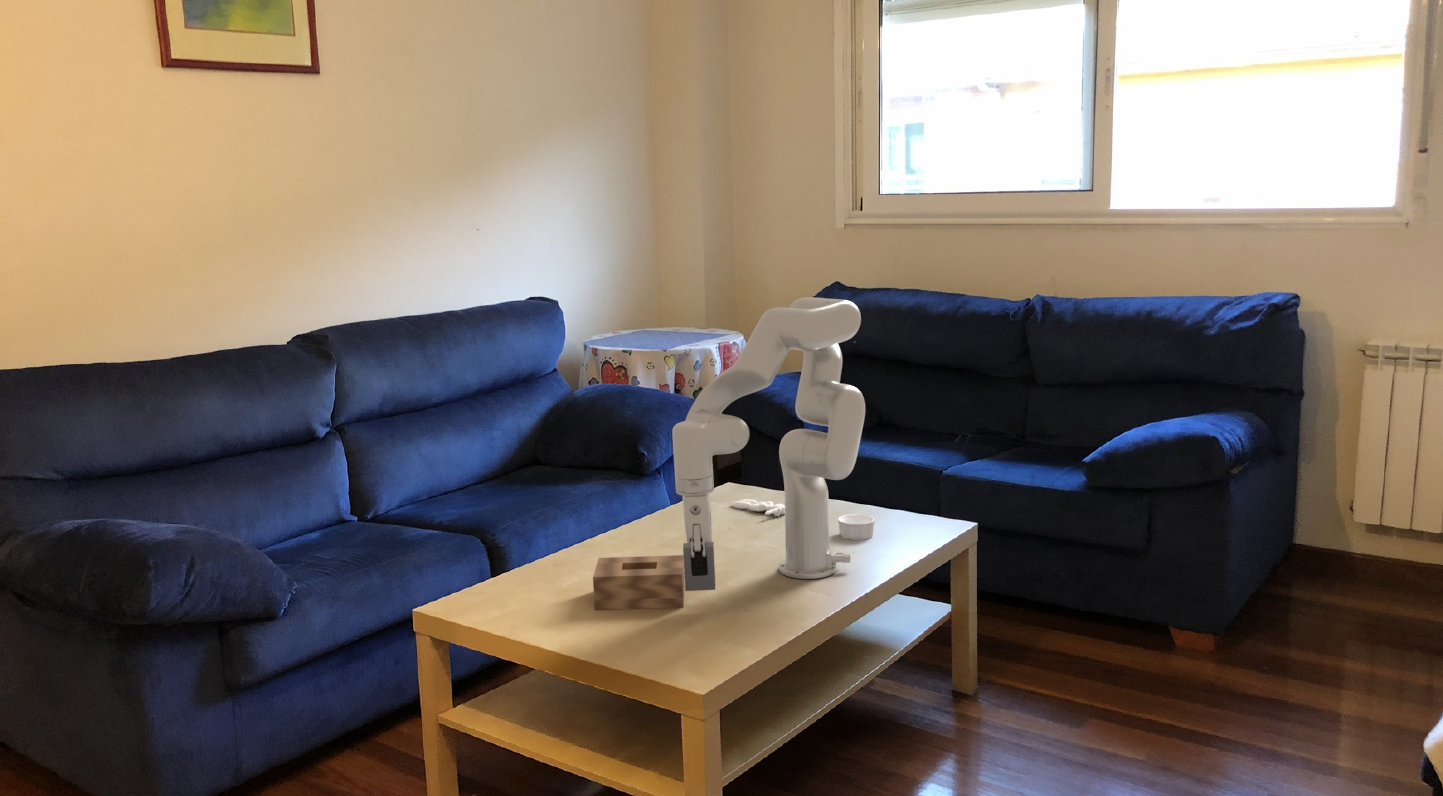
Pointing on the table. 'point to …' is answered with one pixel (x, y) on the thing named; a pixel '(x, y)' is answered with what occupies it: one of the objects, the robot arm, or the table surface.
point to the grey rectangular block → (699, 581)
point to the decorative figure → (760, 506)
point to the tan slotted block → (639, 582)
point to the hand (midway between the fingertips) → (699, 571)
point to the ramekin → (856, 526)
